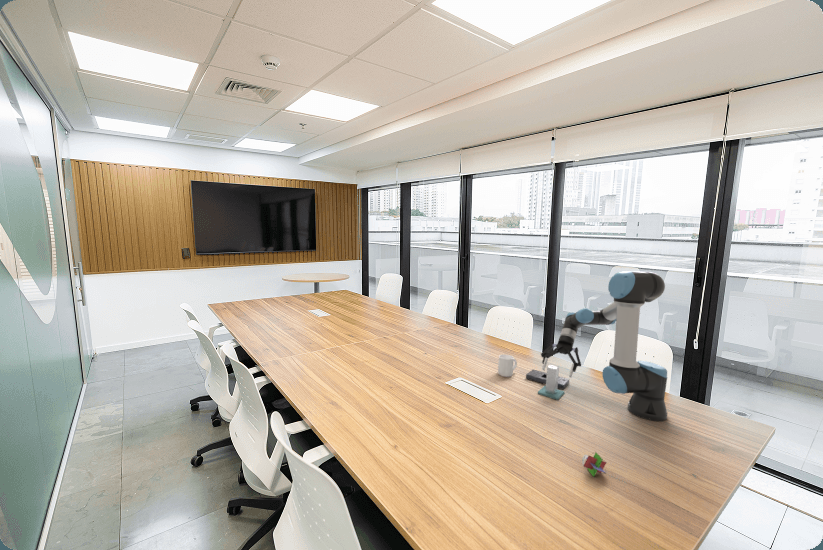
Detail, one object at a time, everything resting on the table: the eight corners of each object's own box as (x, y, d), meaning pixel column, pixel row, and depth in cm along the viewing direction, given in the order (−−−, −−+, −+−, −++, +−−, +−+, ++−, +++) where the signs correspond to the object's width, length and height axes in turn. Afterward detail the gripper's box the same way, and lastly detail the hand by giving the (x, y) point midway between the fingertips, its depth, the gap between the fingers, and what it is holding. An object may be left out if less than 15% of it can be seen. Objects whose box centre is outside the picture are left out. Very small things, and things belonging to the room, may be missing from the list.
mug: (511, 369, 209) (512, 352, 207) (521, 375, 201) (522, 357, 200) (494, 372, 204) (495, 355, 202) (504, 378, 196) (505, 360, 195)
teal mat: (564, 393, 179) (564, 391, 179) (557, 400, 171) (558, 398, 171) (544, 387, 185) (544, 385, 185) (537, 393, 178) (537, 391, 178)
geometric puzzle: (604, 460, 122) (592, 443, 121) (616, 474, 116) (603, 456, 115) (586, 472, 123) (574, 455, 122) (597, 486, 116) (585, 468, 115)
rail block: (569, 383, 191) (569, 379, 191) (563, 389, 183) (563, 384, 183) (532, 373, 204) (533, 369, 203) (525, 378, 196) (526, 374, 196)
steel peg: (557, 391, 178) (559, 366, 177) (554, 394, 175) (556, 369, 174) (548, 388, 181) (550, 364, 180) (545, 391, 178) (547, 367, 176)
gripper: (592, 347, 187) (583, 383, 178) (545, 337, 203) (534, 369, 193) (591, 339, 182) (581, 376, 173) (542, 330, 198) (531, 363, 188)
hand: (556, 372), depth 183 cm, fingers open, 13 cm apart
